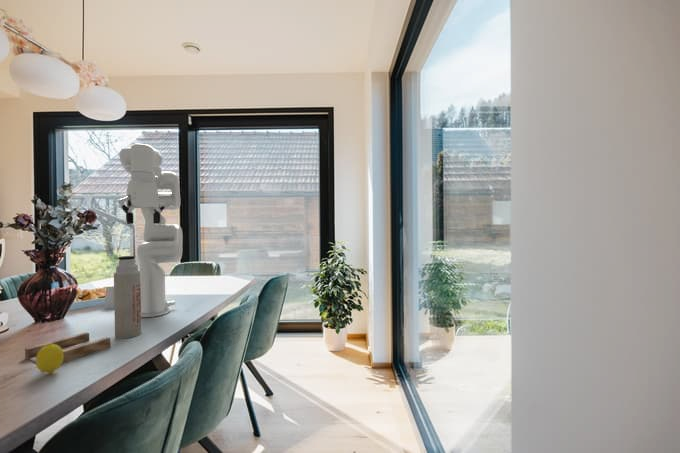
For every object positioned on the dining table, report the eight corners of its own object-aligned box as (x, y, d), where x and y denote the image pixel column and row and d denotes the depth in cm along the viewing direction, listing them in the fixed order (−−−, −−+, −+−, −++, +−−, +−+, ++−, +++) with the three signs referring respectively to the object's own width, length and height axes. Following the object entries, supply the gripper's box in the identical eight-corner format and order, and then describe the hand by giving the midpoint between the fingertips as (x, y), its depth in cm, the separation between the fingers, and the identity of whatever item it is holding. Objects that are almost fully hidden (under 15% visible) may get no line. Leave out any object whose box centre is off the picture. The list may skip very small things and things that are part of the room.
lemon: (47, 369, 91) (46, 340, 91) (69, 368, 92) (68, 339, 92) (30, 378, 86) (29, 347, 86) (53, 377, 86) (52, 346, 86)
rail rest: (85, 341, 113) (85, 332, 113) (110, 347, 107) (110, 338, 107) (25, 358, 99) (25, 348, 99) (49, 367, 93) (49, 356, 93)
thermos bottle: (146, 331, 122) (145, 255, 122) (128, 339, 115) (127, 257, 114) (128, 330, 124) (126, 255, 124) (109, 337, 116) (107, 257, 116)
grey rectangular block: (122, 307, 159) (121, 286, 159) (105, 309, 156) (104, 287, 156) (124, 305, 162) (123, 285, 162) (107, 307, 160) (107, 286, 160)
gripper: (159, 180, 135) (160, 223, 136) (112, 176, 120) (113, 224, 121) (170, 179, 131) (171, 223, 132) (123, 174, 116) (124, 224, 117)
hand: (143, 223), depth 126 cm, fingers open, 9 cm apart
